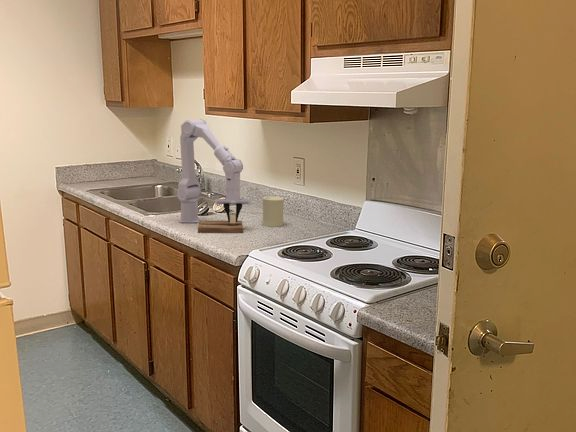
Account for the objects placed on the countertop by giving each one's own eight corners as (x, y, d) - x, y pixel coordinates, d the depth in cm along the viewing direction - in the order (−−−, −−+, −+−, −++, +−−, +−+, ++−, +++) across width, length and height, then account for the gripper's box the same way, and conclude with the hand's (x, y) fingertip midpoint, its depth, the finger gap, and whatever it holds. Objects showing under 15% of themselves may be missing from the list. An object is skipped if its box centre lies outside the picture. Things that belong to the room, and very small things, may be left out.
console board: (199, 225, 253) (199, 220, 252) (241, 225, 255) (241, 220, 254) (197, 232, 239) (197, 227, 239) (242, 232, 241) (242, 227, 241)
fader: (229, 222, 249) (229, 212, 248) (235, 222, 249) (235, 212, 249) (229, 224, 244) (229, 215, 244) (235, 224, 245) (235, 215, 244)
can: (259, 222, 261) (259, 195, 258) (279, 221, 264) (279, 195, 262) (266, 227, 252) (266, 199, 250) (286, 226, 256) (287, 198, 253)
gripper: (215, 190, 239) (214, 223, 242) (251, 190, 241) (250, 223, 244) (215, 187, 246) (215, 219, 249) (250, 188, 248) (249, 219, 251)
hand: (232, 221), depth 247 cm, fingers closed on fader, 2 cm apart
